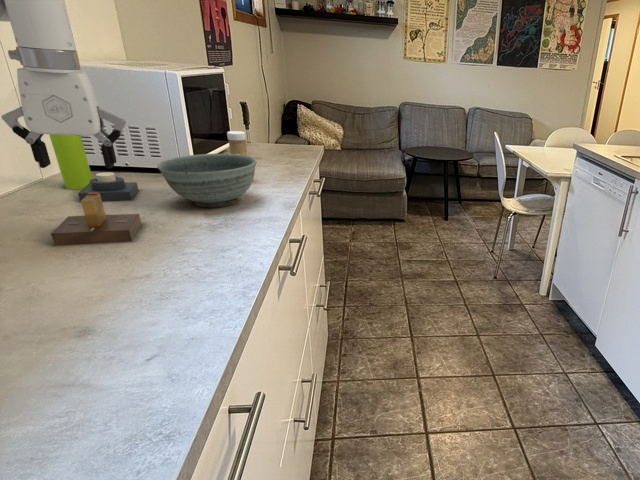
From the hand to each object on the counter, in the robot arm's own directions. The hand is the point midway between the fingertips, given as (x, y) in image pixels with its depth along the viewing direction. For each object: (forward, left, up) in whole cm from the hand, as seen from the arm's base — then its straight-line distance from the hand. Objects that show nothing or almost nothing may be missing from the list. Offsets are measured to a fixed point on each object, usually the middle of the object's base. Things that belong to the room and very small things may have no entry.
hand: (78, 166), depth 85 cm
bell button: (-3, +28, -10) cm, 30 cm away
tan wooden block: (+1, 0, -11) cm, 11 cm away
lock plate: (+1, 0, -13) cm, 13 cm away
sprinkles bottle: (+26, +40, -13) cm, 49 cm away
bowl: (+20, +20, -13) cm, 31 cm away
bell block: (-3, +28, -13) cm, 31 cm away
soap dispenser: (-11, +38, -13) cm, 42 cm away
